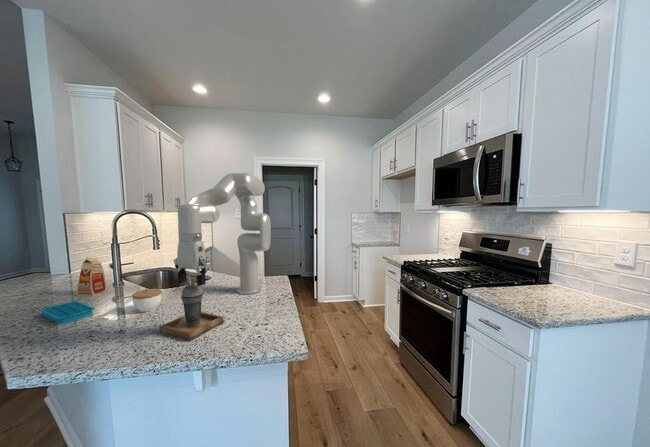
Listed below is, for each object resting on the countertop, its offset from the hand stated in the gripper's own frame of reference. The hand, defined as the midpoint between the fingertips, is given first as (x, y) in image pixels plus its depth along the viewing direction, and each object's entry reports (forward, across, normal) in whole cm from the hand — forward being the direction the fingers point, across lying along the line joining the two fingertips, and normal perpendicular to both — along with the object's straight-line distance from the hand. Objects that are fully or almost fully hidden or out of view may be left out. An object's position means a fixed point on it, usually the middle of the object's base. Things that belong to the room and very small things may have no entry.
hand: (191, 283), depth 94 cm
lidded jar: (+17, +34, -5) cm, 38 cm away
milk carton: (+17, +84, -8) cm, 86 cm away
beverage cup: (+16, 0, 0) cm, 16 cm away
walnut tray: (+17, 0, 0) cm, 17 cm away
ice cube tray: (+17, +59, +12) cm, 63 cm away
